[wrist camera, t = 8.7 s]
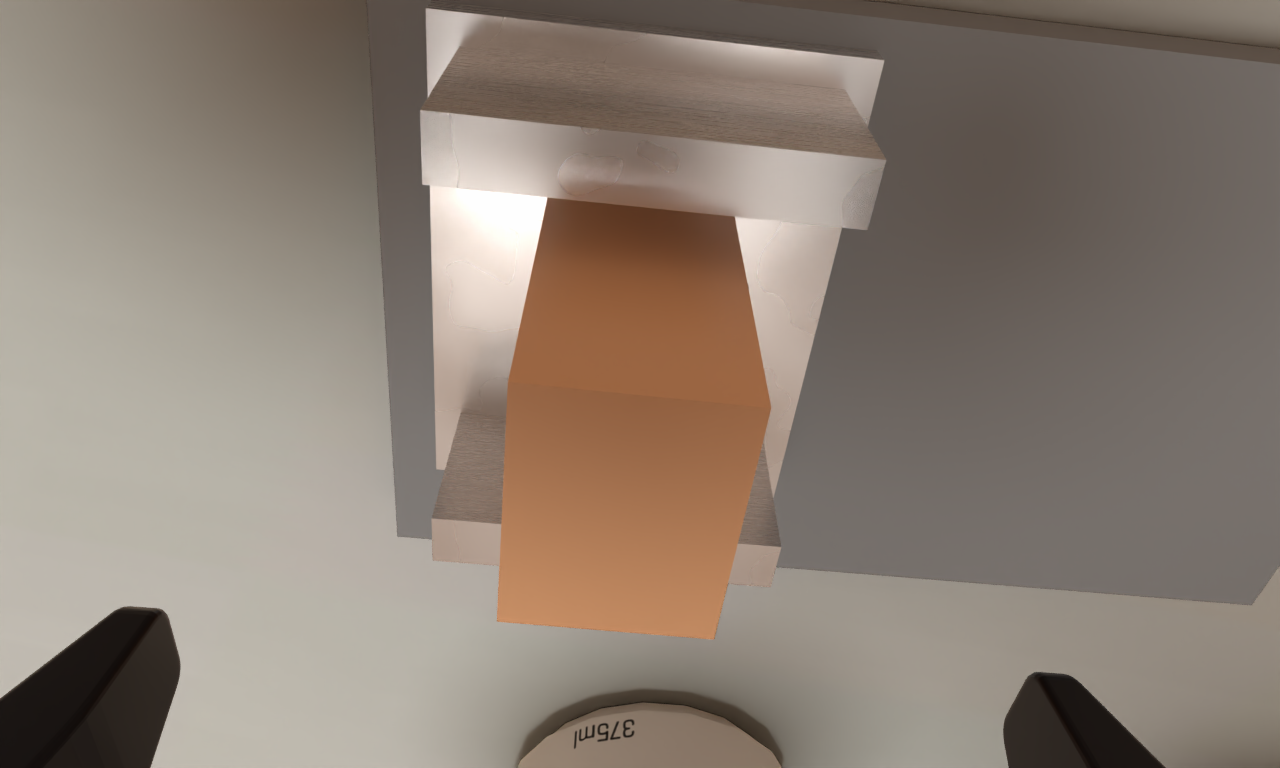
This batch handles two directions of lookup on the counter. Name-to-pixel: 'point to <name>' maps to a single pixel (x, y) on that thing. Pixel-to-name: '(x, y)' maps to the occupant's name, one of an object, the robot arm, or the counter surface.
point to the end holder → (633, 176)
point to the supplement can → (649, 741)
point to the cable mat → (981, 301)
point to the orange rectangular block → (630, 422)
